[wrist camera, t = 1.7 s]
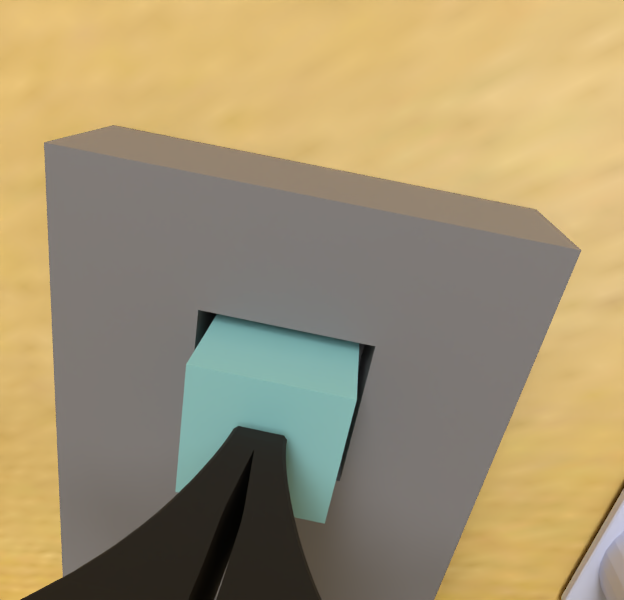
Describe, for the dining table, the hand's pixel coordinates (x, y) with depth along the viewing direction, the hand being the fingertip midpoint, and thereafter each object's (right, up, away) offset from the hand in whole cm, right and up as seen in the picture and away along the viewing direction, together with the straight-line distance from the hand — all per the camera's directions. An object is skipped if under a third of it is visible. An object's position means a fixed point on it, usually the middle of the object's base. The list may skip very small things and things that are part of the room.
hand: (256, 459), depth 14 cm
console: (0, -3, +9) cm, 9 cm away
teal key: (0, +2, +3) cm, 4 cm away
